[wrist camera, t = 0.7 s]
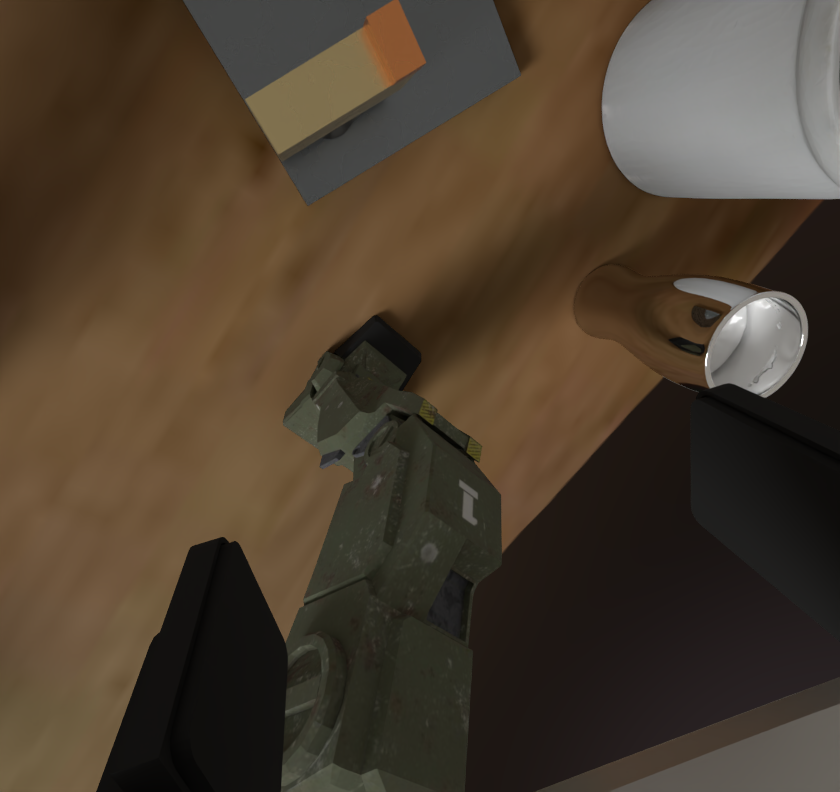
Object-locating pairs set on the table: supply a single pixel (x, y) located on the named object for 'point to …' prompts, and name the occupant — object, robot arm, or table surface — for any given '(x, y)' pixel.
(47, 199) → the table surface
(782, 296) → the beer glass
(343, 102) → the knob
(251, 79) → the level plate
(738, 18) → the utensil holder
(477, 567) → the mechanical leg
